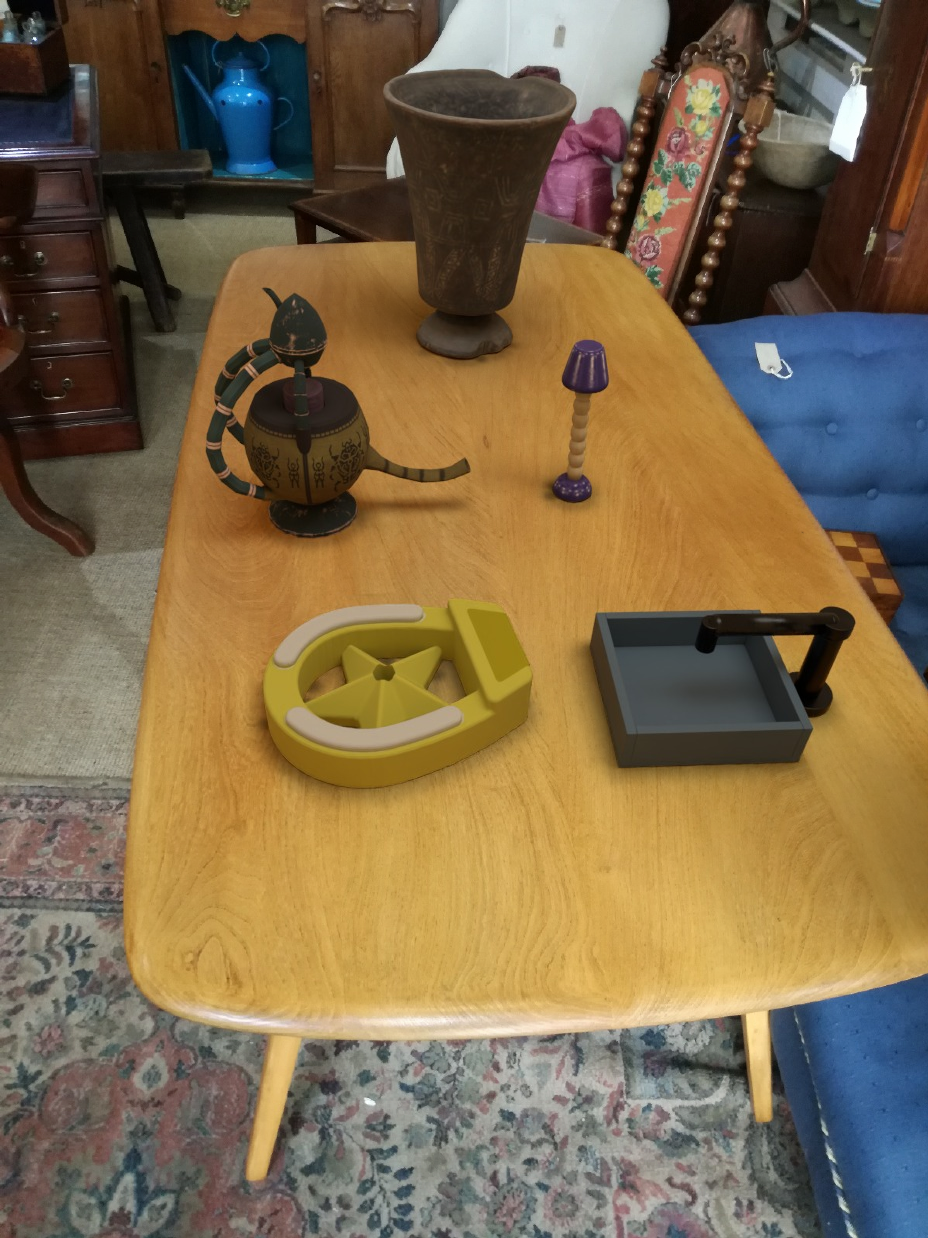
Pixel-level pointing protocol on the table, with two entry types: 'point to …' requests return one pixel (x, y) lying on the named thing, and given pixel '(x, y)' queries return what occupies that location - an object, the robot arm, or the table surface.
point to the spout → (774, 626)
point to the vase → (473, 191)
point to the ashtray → (395, 690)
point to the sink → (694, 693)
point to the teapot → (300, 430)
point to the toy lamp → (581, 413)
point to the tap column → (816, 675)
